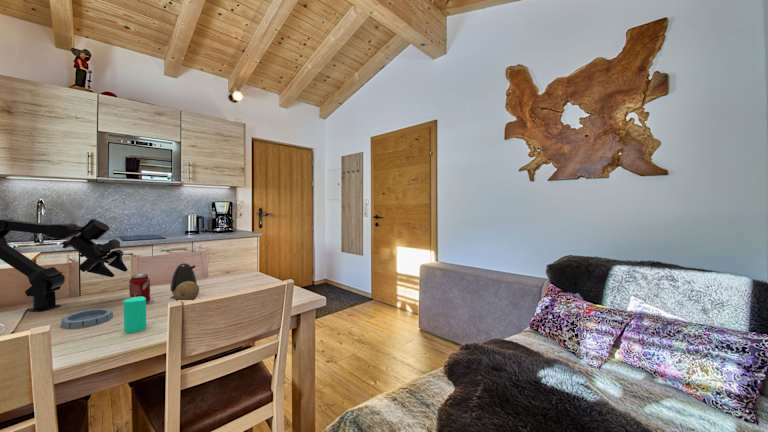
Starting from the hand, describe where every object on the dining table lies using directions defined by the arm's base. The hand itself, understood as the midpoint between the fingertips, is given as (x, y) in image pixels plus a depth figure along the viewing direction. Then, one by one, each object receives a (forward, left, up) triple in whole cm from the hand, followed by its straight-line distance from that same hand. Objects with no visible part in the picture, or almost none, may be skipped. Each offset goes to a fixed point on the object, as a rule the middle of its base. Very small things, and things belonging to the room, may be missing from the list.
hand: (120, 273), depth 123 cm
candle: (+28, -17, -13) cm, 36 cm away
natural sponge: (+25, +7, -13) cm, 29 cm away
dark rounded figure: (+15, +16, -13) cm, 26 cm away
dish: (+6, -16, -13) cm, 22 cm away
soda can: (+6, +3, -13) cm, 15 cm away
